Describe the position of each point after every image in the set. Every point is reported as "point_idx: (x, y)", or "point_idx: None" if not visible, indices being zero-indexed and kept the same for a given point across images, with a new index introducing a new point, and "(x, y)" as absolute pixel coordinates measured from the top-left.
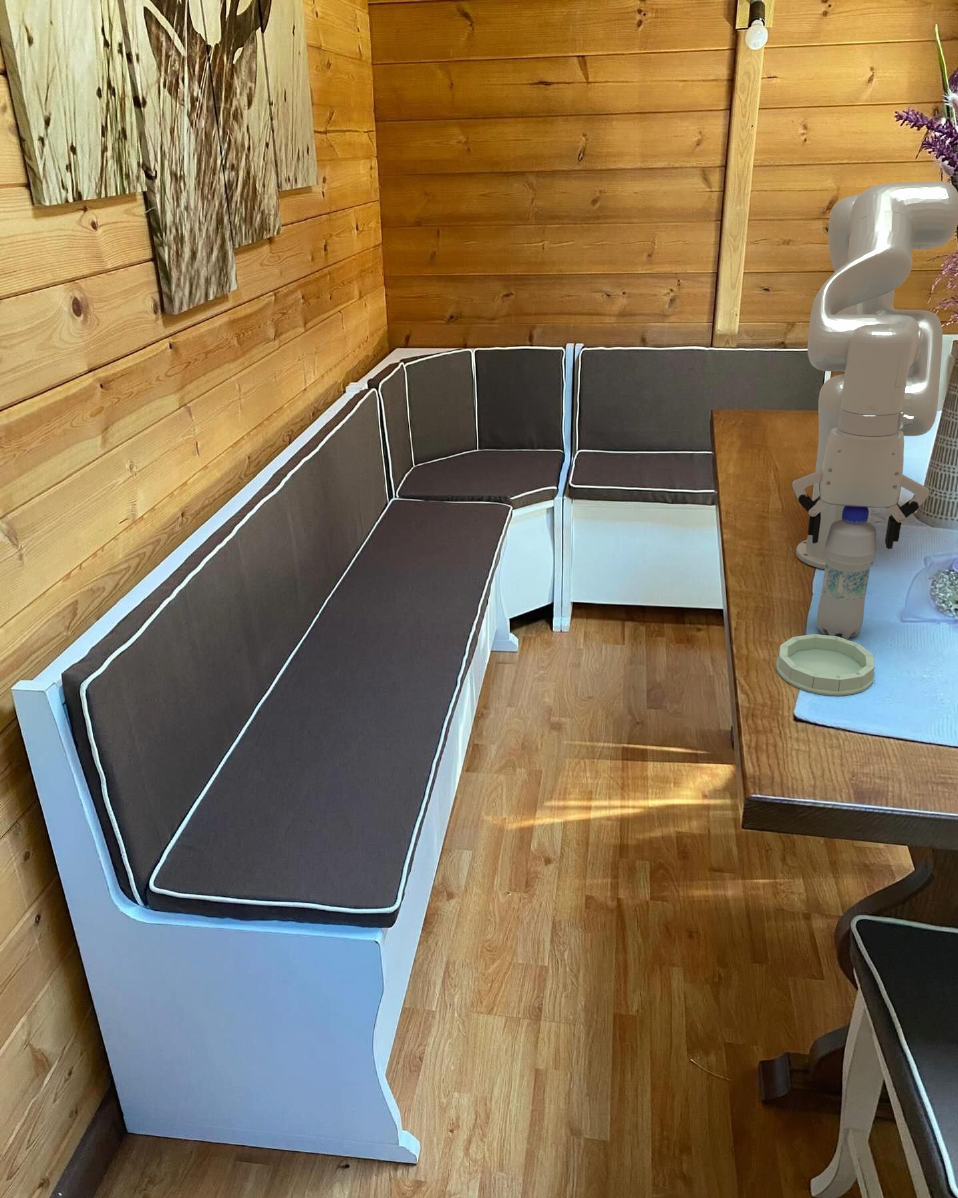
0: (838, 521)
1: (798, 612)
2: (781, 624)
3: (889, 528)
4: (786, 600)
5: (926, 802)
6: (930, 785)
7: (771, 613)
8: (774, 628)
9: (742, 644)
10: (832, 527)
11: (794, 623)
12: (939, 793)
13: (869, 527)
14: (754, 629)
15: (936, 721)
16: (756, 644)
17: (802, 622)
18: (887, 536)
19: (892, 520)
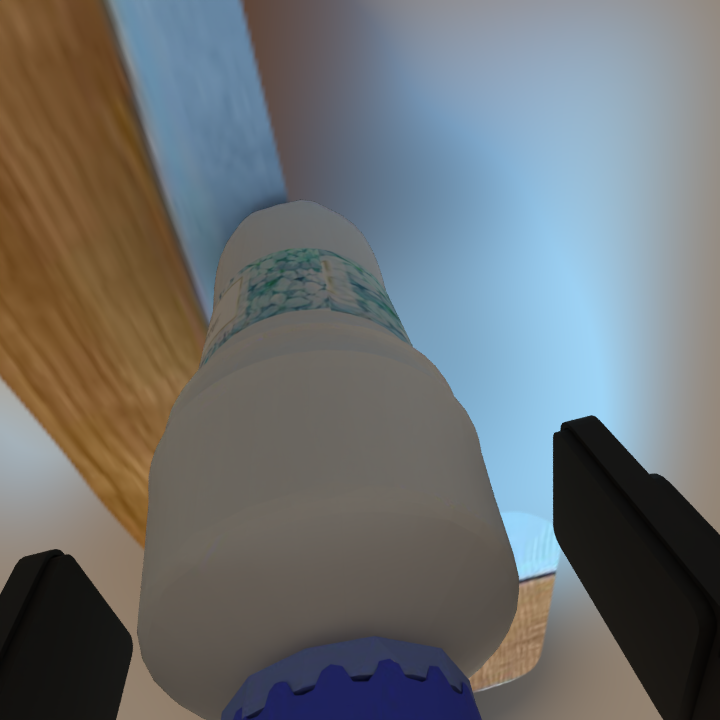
0: (196, 684)
1: (117, 169)
2: (110, 294)
3: (636, 660)
4: (13, 64)
5: (512, 670)
6: (519, 647)
7: (32, 225)
8: (104, 330)
9: (75, 456)
10: (181, 704)
11: (145, 267)
12: (529, 653)
13: (477, 659)
14: (52, 365)
15: (544, 527)
16: (109, 439)
17: (167, 247)
18: (590, 558)
19: (702, 716)
